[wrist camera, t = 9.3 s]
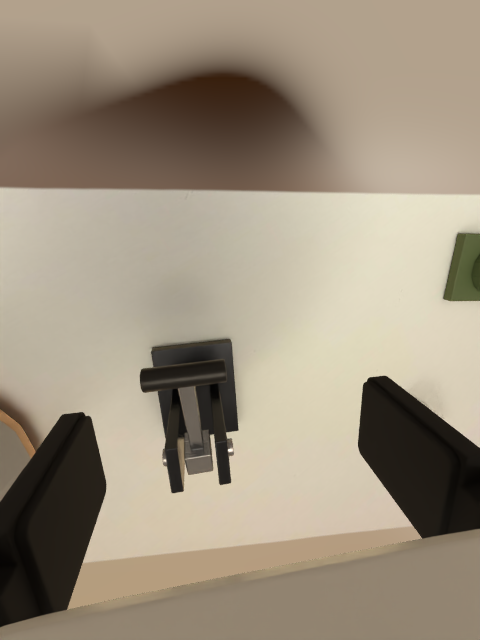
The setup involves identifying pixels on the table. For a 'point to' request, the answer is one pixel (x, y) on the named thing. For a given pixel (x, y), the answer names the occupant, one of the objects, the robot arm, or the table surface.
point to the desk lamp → (12, 452)
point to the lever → (188, 404)
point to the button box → (465, 270)
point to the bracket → (212, 404)
